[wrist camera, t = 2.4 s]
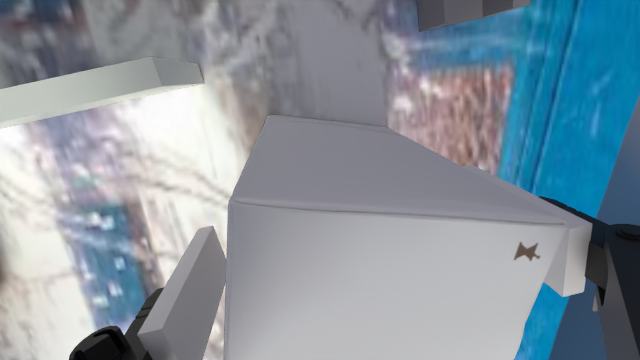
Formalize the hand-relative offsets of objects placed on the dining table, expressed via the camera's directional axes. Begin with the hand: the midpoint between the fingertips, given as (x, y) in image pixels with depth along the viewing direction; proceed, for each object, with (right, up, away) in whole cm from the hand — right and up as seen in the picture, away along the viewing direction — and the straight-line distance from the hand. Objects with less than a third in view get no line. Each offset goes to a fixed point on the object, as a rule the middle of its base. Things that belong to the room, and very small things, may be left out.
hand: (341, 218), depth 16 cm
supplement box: (-1, +2, +7) cm, 7 cm away
